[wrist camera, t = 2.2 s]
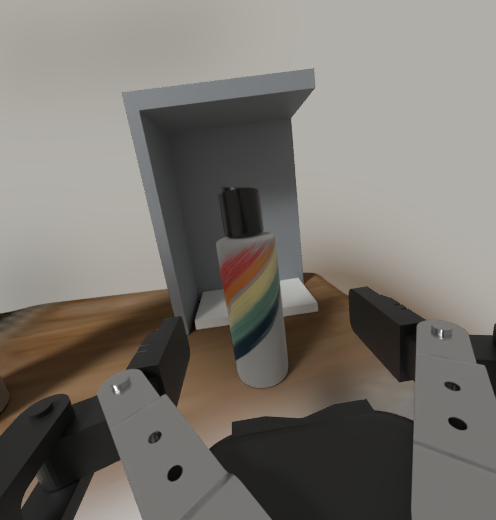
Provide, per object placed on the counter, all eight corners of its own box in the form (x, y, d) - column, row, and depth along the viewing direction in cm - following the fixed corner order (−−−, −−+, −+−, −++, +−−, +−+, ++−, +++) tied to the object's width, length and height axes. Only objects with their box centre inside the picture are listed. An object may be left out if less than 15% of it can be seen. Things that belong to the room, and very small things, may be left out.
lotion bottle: (239, 356, 31) (211, 189, 25) (285, 351, 30) (267, 181, 25) (236, 392, 25) (200, 188, 20) (293, 386, 25) (271, 178, 20)
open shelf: (178, 335, 37) (121, 92, 28) (192, 297, 51) (156, 124, 42) (326, 313, 38) (314, 68, 29) (301, 281, 51) (287, 107, 43)
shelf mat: (196, 329, 38) (194, 321, 38) (204, 298, 49) (203, 291, 49) (318, 311, 39) (317, 302, 38) (298, 284, 50) (298, 277, 49)
